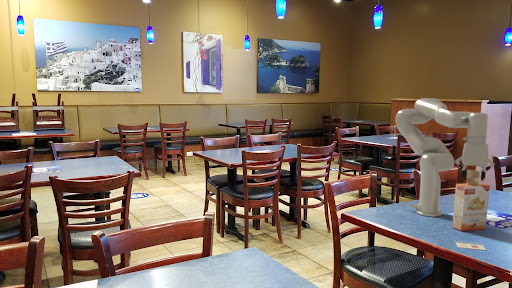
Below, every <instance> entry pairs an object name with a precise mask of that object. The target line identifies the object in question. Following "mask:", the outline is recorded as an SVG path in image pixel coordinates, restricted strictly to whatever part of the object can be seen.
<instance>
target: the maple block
mask: <svg viewBox="0 0 512 288" xmlns="http://www.w3.org/2000/svg"><path fill="white" fill-rule="evenodd" d="M480 180H481V172H480V171H479V170H473V169H467V170H466V183H467V185H477V186H479V183H480Z"/></svg>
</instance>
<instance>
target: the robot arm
mask: <svg viewBox="0 0 512 288" xmlns="http://www.w3.org/2000/svg"><path fill="white" fill-rule="evenodd" d="M413 107H414V108H403V109H401V110H398V112H396V115H395V118H394V119H395V125H396V128H397V130H398V131H399V132H400V134H401V135H402V136H403V137H404V139H405V140H406V141H407V144H408V145H409V146H410V148H411V149H412V151H413V152H414V153H415V154H416V155H417V156H421V157H420V158H419V168H420V183H419V186H420V187H419V197H418V198H419V199H418V200H419V202H418V203H409V207H410V208H411V209H415V213H416V214H418V215H420V216H425V217H434V218H436V217H441V216H442V215H443V212H442V211H441V210H440V201H441V200H440V199H441V198H440V197H441V186H442V185H441V184H442V183H441V182H442V181H441V177H440V174H439V172H446V171H450V170H452V169H453V168H454V167H455V164H456V165H457V166H458V167H459V168H460V169H461V178H462V179H463V180H467V170H466V168H467V167H468V166H471V167H481V169H482V170H481V172H480V181H481V182H484V180H485V179H486V174H487V172H488V171H489V170H490V169H492V168H493V167H494V166H495V165H496V164H495V163H494V162H493V161H492V160H491V159H490V158H489V145H488V143H487V132H488V122H489V121H488V120H489V118H488V117H489V116H488V114H487V113H485V112H472V111H451V110H448V106H447V105H446V104H445V103H443V102H442V101H441V100H440V99H438V98H432V97H422V98H419V99H418V100H416V101H415V103H414V106H413ZM430 120H434V121H435V122H436V123H437V124H439V125H441V126H444V127H447V128H450V129H467V132H466V136H465V137H464V136H463V137H462V140H463V141H465V142H464V144H463V149H462V154H461V156H459V157H458V158H457V159H456V160H455V159H454V156H453V154H452V153H451V152H450V151H449V149H448V148H447V146H446V145H445V143H443V141H441V139H439V138H437V137H430V136H429V137H427V136H425V135H424V134H423V133H422V131H421V130H420V129H419V128H418V127H416V126H415V125H423V124H425V123H426V124H427V122H429V121H430ZM460 162H461V163H460ZM462 164H463V165H462Z"/></svg>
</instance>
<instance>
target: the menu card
mask: <svg viewBox="0 0 512 288" xmlns="http://www.w3.org/2000/svg"><path fill="white" fill-rule="evenodd" d="M454 243H455V245H456V246H457V248H460V249H469V250H478V251H487V249H486V248H485V247H484V245H483V244H482V243H479V242H467V241H458V240H454Z"/></svg>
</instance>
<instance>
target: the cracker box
mask: <svg viewBox="0 0 512 288" xmlns="http://www.w3.org/2000/svg"><path fill="white" fill-rule="evenodd" d="M490 190H491V185H490V184H487V183H483V182H479V186H477V185H467V182H465V183H455V191H454V193H455V194H454V201H453V203H454V204H453V215H452V227H451V228H453V229H455V230H458V231H460V232H467V231H479V230H480V231H481V230H486V228H487V218H488V207H489V199H490V198H489V197H490Z"/></svg>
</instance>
